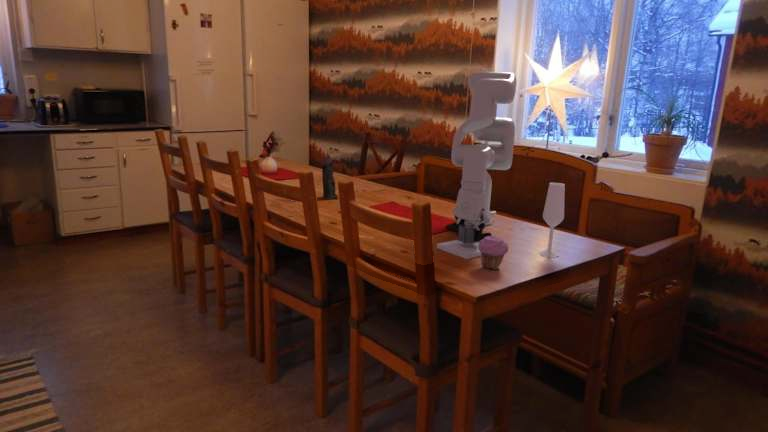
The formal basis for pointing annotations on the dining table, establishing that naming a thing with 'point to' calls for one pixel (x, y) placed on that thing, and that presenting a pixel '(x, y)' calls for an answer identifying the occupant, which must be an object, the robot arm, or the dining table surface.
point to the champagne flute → (553, 213)
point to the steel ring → (466, 234)
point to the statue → (328, 179)
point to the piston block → (461, 246)
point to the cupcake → (492, 251)
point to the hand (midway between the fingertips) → (469, 237)
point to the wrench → (455, 226)
